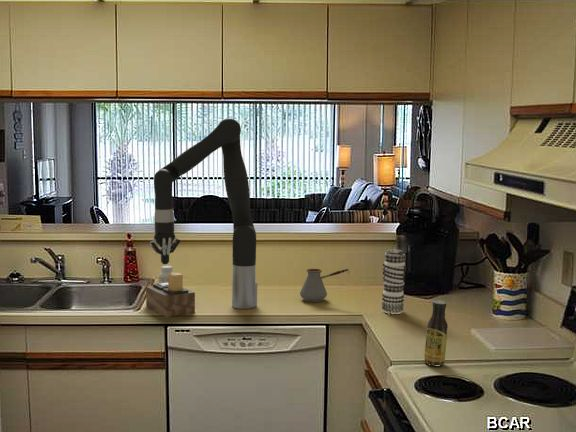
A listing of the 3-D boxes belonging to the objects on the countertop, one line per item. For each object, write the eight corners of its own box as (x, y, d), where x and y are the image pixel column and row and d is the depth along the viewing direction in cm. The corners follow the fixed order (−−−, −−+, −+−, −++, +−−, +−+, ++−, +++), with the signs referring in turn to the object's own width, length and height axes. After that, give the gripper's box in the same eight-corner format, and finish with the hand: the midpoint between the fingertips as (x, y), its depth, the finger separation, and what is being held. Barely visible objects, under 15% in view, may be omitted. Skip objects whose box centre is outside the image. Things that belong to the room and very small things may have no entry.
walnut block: (173, 302, 272) (173, 280, 271) (194, 312, 258) (194, 289, 257) (146, 306, 265) (146, 284, 264) (166, 317, 251) (166, 293, 250)
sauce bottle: (420, 364, 207) (423, 301, 204) (429, 359, 212) (432, 298, 209) (440, 369, 203) (443, 305, 200) (448, 363, 208) (452, 301, 205)
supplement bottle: (176, 295, 285) (176, 265, 283) (172, 298, 278) (172, 268, 276) (161, 294, 285) (161, 264, 284) (157, 298, 279) (156, 267, 277)
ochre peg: (177, 292, 260) (177, 272, 259) (182, 294, 257) (182, 274, 256) (168, 294, 258) (168, 273, 257) (173, 296, 254) (173, 275, 253)
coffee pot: (295, 301, 279) (296, 266, 277) (306, 295, 289) (307, 261, 287) (343, 308, 270) (344, 271, 268) (352, 301, 280) (354, 266, 278)
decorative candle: (403, 316, 260) (406, 252, 257) (379, 314, 262) (382, 251, 259) (405, 310, 269) (407, 248, 266) (381, 308, 271) (384, 247, 268)
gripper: (152, 222, 254) (153, 267, 256) (184, 220, 262) (184, 263, 264) (144, 220, 260) (145, 264, 262) (175, 218, 268) (175, 260, 270)
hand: (165, 263), depth 263 cm, fingers closed
